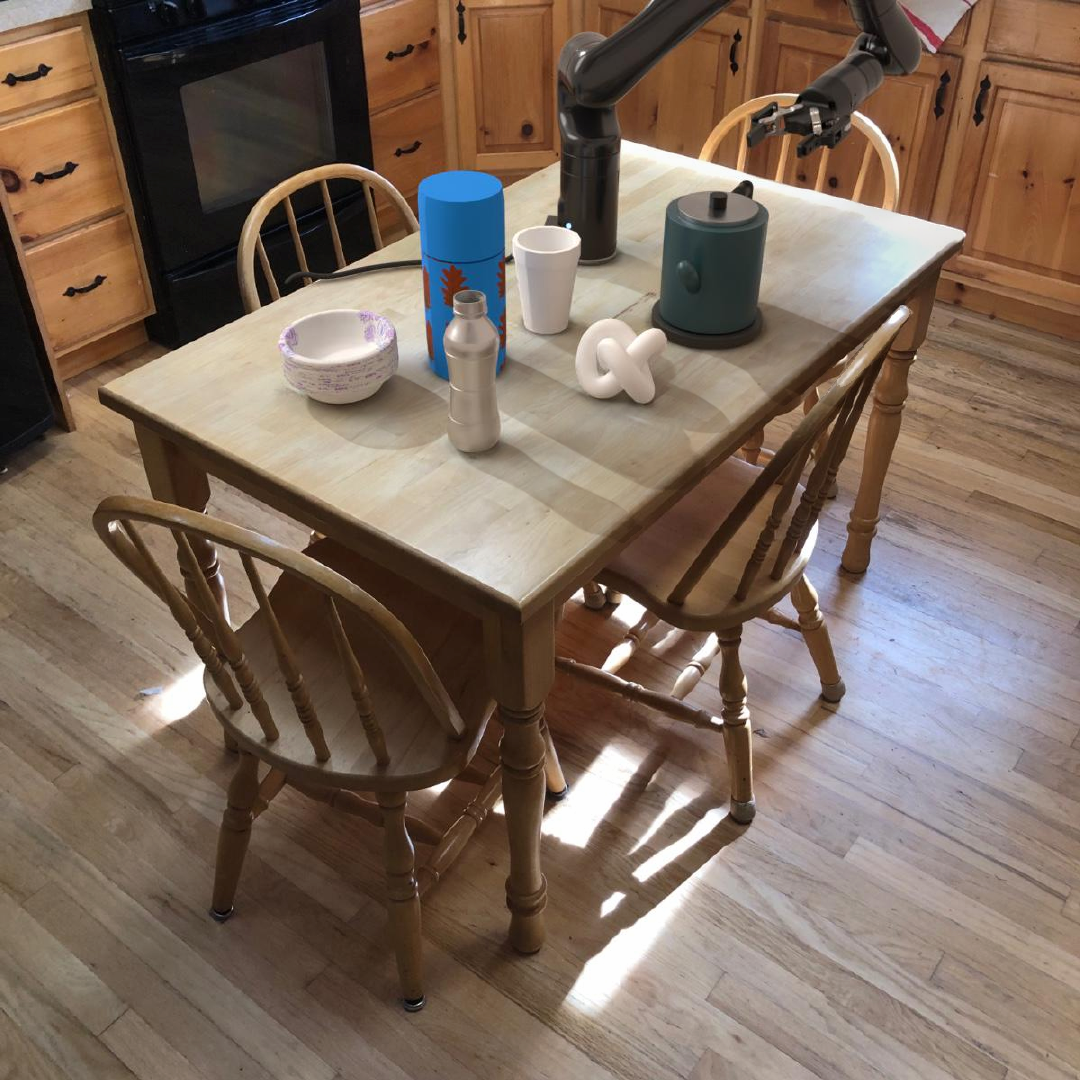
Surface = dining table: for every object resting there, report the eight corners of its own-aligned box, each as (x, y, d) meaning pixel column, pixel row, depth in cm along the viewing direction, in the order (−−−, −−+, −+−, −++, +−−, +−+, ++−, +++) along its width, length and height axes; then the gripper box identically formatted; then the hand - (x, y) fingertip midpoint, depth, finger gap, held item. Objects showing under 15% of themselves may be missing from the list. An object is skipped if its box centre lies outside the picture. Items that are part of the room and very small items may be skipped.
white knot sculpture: (678, 412, 153) (683, 350, 147) (587, 421, 151) (589, 358, 145) (656, 369, 161) (660, 309, 156) (570, 377, 160) (571, 316, 154)
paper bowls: (265, 380, 159) (257, 327, 154) (364, 348, 166) (359, 296, 161) (319, 430, 149) (312, 375, 144) (422, 393, 156) (418, 339, 151)
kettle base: (646, 345, 167) (647, 334, 166) (655, 294, 179) (656, 285, 178) (761, 353, 165) (762, 343, 164) (762, 302, 177) (763, 292, 176)
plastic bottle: (446, 431, 149) (438, 285, 136) (500, 429, 149) (497, 283, 137) (447, 460, 144) (439, 310, 131) (503, 458, 144) (500, 308, 132)
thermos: (496, 386, 158) (492, 205, 142) (418, 378, 159) (406, 198, 144) (513, 348, 166) (512, 173, 151) (440, 340, 168) (430, 167, 152)
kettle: (723, 356, 160) (736, 235, 150) (629, 332, 166) (636, 213, 155) (782, 289, 177) (797, 175, 166) (695, 269, 182) (705, 157, 171)
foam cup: (588, 317, 173) (591, 233, 166) (562, 344, 167) (564, 258, 159) (530, 304, 177) (529, 221, 169) (502, 331, 170) (501, 245, 162)
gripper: (791, 68, 182) (731, 115, 174) (874, 81, 174) (815, 131, 167) (792, 114, 187) (734, 162, 180) (873, 129, 179) (816, 179, 172)
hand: (773, 147), depth 173 cm, fingers open, 8 cm apart
